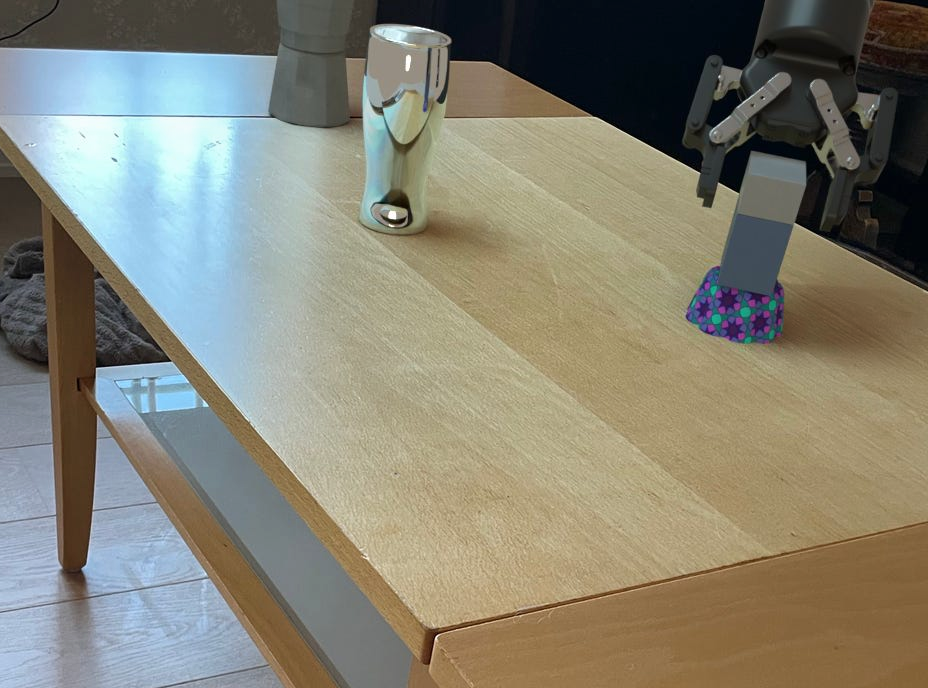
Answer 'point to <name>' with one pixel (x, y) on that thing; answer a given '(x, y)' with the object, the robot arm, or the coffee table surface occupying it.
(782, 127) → the robot arm
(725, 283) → the block
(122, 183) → the coffee table surface
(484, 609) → the coffee table surface
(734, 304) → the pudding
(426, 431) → the coffee table surface
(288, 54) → the coffeepot
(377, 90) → the beer glass
